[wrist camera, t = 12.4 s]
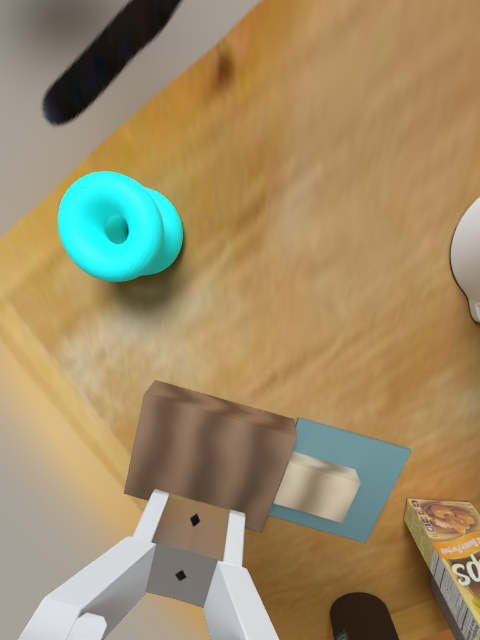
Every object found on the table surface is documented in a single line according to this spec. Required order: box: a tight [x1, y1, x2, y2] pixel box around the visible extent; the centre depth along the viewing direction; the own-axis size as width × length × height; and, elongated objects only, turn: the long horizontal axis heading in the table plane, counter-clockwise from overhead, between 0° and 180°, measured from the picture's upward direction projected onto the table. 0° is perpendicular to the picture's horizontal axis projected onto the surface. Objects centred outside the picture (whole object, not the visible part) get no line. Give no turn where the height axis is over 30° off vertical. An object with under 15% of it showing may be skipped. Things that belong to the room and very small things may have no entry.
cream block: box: [273, 451, 361, 523], centre depth 41 cm, size 10×7×2 cm
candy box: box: [404, 498, 480, 640], centre depth 36 cm, size 9×4×15 cm, turn 90°
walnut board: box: [124, 380, 297, 533], centre depth 41 cm, size 20×16×4 cm
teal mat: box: [268, 417, 411, 543], centre depth 43 cm, size 16×17×1 cm
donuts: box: [58, 172, 183, 282], centre depth 31 cm, size 10×10×10 cm
